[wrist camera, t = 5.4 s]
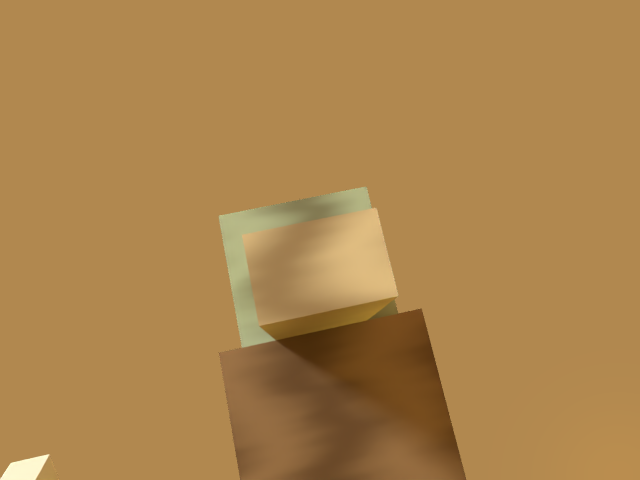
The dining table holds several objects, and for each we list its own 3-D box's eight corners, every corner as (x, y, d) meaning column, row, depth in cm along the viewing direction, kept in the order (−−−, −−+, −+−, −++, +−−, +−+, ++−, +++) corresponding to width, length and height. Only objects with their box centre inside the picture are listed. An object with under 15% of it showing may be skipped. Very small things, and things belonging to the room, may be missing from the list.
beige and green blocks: (203, 337, 16) (170, 133, 18) (254, 352, 32) (234, 242, 33) (451, 284, 17) (397, 90, 18) (381, 324, 32) (356, 217, 34)
